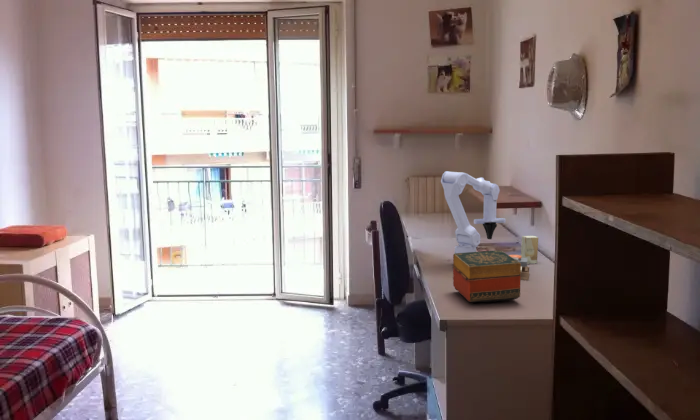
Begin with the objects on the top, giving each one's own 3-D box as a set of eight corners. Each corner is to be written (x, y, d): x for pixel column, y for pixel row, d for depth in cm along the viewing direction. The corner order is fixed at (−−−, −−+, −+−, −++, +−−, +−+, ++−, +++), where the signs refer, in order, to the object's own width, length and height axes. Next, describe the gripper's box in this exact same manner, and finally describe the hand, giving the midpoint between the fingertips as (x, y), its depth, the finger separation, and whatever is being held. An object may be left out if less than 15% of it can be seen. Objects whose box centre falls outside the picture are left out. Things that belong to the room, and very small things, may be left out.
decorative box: (505, 292, 231) (503, 248, 230) (524, 303, 209) (522, 255, 208) (452, 295, 230) (450, 252, 229) (465, 307, 208) (462, 259, 207)
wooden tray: (475, 276, 251) (475, 268, 251) (478, 270, 262) (478, 262, 261) (528, 280, 245) (528, 271, 244) (529, 274, 255) (529, 265, 255)
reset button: (508, 267, 259) (508, 256, 259) (508, 265, 264) (509, 254, 264) (521, 268, 258) (521, 257, 257) (521, 265, 263) (521, 255, 262)
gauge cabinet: (502, 271, 259) (502, 260, 258) (503, 267, 267) (503, 256, 266) (526, 273, 256) (527, 261, 255) (527, 269, 264) (527, 258, 263)
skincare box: (525, 264, 273) (526, 237, 272) (520, 262, 277) (521, 235, 276) (537, 263, 275) (539, 236, 273) (532, 261, 279) (533, 235, 278)
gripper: (477, 211, 272) (477, 241, 274) (508, 210, 274) (507, 239, 276) (472, 209, 278) (471, 238, 280) (502, 207, 281) (501, 236, 283)
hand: (489, 238), depth 279 cm, fingers closed
